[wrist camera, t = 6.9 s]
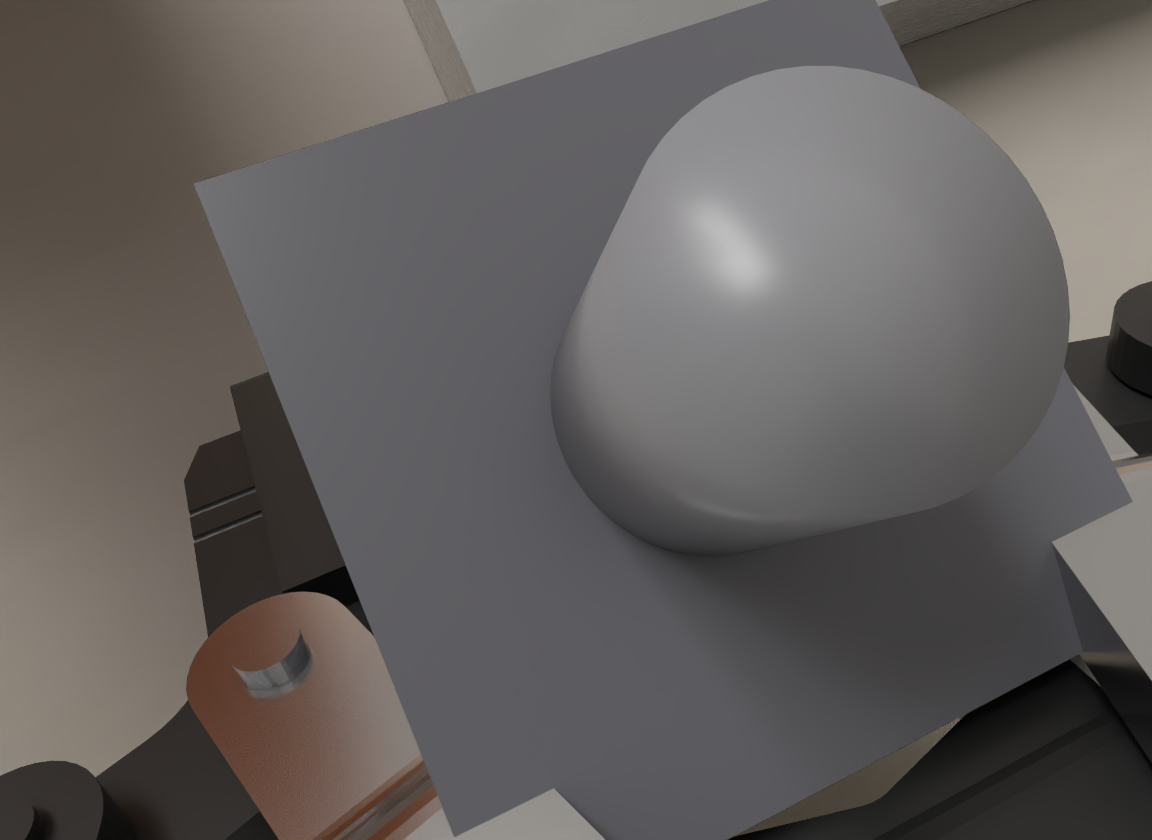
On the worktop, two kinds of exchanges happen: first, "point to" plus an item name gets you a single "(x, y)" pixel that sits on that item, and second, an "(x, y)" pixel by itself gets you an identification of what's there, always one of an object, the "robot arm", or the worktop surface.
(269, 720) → the robot arm
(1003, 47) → the worktop surface
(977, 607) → the plug
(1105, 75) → the worktop surface
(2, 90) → the worktop surface
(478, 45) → the socket
